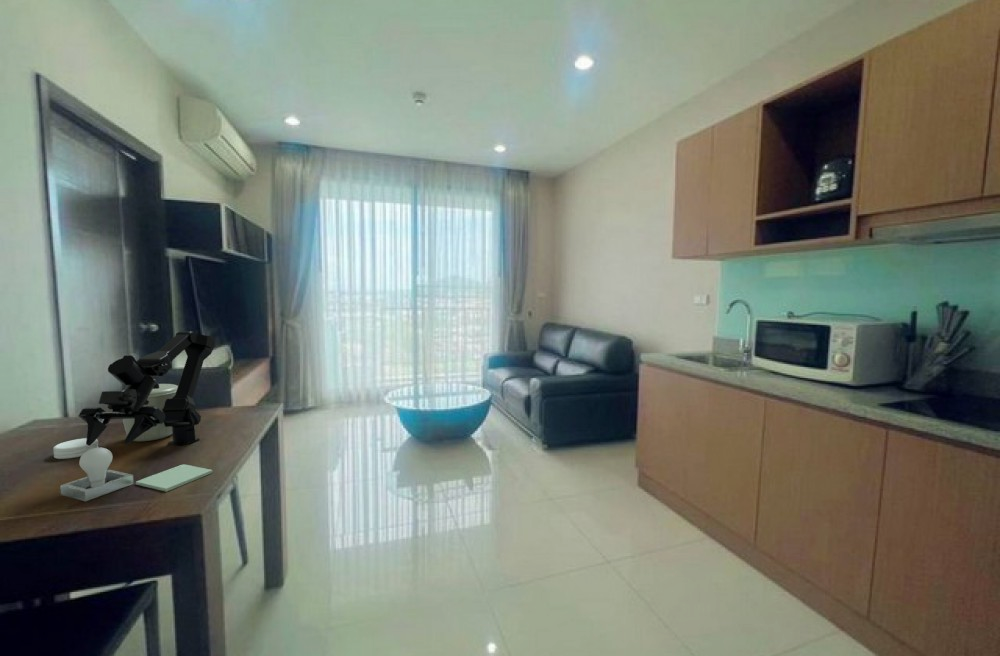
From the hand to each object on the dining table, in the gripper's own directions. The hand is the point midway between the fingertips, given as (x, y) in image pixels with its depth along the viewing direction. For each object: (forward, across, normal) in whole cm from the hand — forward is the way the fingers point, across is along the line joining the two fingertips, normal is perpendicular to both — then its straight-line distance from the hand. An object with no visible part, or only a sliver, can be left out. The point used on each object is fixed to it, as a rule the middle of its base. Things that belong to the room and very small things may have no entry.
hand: (107, 444), depth 108 cm
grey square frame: (+10, 0, +5) cm, 11 cm away
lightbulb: (+10, 0, +5) cm, 11 cm away
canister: (-19, -14, +34) cm, 42 cm away
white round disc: (-9, -28, +25) cm, 38 cm away
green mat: (+7, +16, +8) cm, 19 cm away
